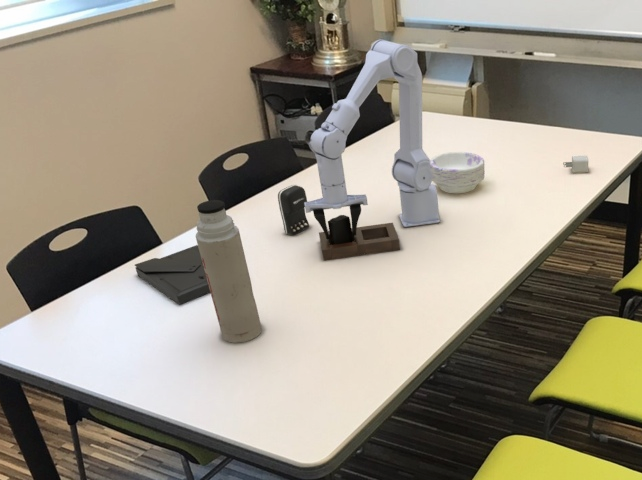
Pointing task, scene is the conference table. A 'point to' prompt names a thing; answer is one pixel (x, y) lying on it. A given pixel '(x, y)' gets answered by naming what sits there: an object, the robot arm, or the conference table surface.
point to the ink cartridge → (340, 230)
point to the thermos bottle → (227, 273)
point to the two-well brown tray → (362, 242)
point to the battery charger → (293, 209)
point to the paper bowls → (457, 171)
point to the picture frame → (177, 275)
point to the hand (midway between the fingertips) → (341, 235)
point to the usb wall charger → (578, 164)
